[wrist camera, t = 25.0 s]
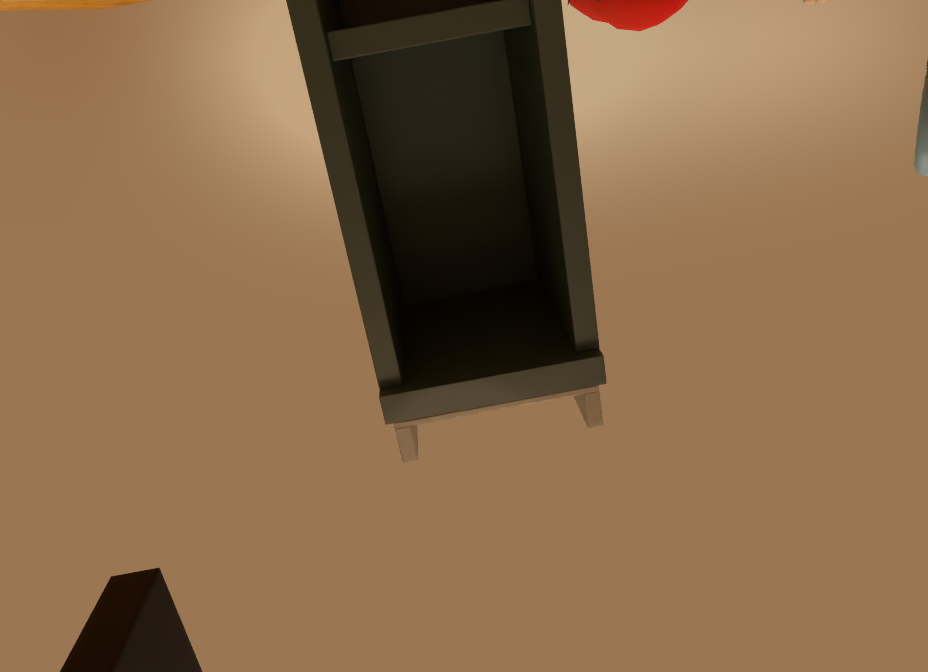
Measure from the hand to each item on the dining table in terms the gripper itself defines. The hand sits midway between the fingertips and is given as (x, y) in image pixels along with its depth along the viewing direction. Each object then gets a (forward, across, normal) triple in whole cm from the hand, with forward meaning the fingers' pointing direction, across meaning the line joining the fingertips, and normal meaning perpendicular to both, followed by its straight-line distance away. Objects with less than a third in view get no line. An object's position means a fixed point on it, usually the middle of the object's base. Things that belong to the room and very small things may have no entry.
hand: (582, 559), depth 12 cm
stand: (+41, 0, +16) cm, 44 cm away
